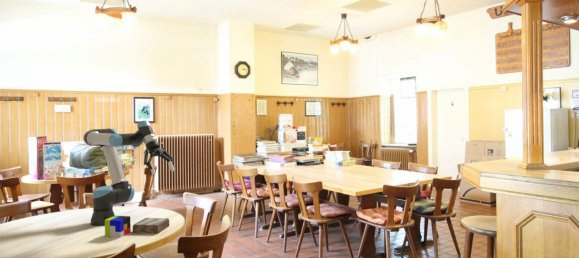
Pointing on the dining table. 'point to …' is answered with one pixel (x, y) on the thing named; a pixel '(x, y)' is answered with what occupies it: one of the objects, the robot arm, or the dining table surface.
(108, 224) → the puzzle toy
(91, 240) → the dining table surface
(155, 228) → the walnut base
